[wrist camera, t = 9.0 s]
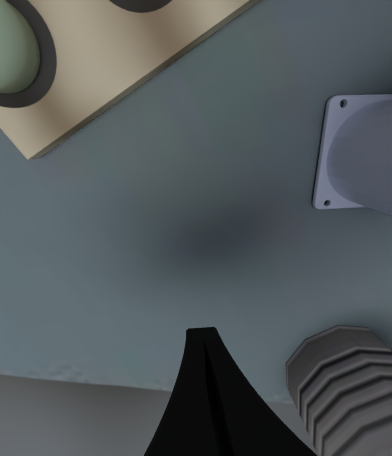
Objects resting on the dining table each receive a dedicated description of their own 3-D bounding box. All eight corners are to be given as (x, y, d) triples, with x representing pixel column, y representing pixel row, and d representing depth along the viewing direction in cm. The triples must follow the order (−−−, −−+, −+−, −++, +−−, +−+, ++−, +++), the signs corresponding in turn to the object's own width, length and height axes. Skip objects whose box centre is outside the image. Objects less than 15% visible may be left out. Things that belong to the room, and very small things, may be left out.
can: (268, 352, 25) (344, 526, 14) (373, 306, 24) (546, 453, 13) (301, 414, 29) (380, 587, 18) (392, 376, 28) (536, 535, 17)
